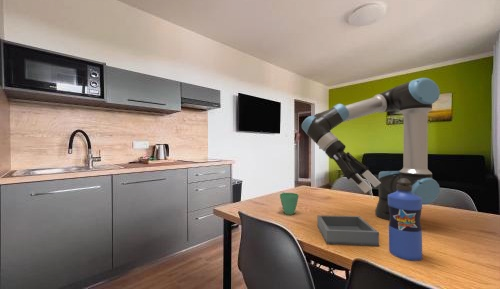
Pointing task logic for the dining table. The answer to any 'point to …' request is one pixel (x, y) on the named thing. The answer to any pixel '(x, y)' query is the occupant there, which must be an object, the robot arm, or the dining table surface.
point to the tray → (347, 231)
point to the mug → (289, 202)
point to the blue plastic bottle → (405, 222)
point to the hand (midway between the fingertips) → (373, 187)
